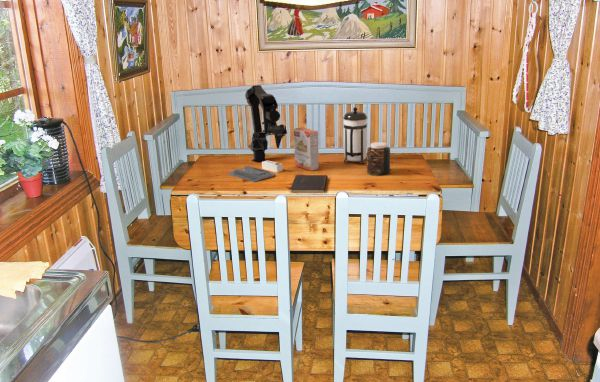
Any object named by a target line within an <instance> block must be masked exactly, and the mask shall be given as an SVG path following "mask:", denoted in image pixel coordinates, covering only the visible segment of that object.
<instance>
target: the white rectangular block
mask: <svg viewBox="0 0 600 382" xmlns="http://www.w3.org/2000/svg"><path fill="white" fill-rule="evenodd" d="M261 170H265V171H269V172H272V173H273V172H274V173H281V172H283V171H284V166H283V163H280V162H277V161H276V162H275V161H271V160H268V159H267V160H266V161H262V162H261Z"/></svg>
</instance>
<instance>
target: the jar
mask: <svg viewBox="0 0 600 382" xmlns="http://www.w3.org/2000/svg"><path fill="white" fill-rule="evenodd" d="M366 157H367V160H366V173H367V174H368V175H370V176H385V175H389V174H390V173H391V148H390V147H389V146H388V143H387V142H384V141H378V142H377V141H376V142H375V141H374V142H371V143H370V146H369V147H367V148H366Z"/></svg>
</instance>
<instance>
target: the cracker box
mask: <svg viewBox="0 0 600 382" xmlns="http://www.w3.org/2000/svg"><path fill="white" fill-rule="evenodd" d="M293 145H294V165H295V167H297V168H301V169H304V170H306V171H310V172H312V171H316V170H319V169H320V165H319V164H320V161H319V160H320V159H319V158H320V157H319V131H318V130H314V129H310V128H307V127H302V126H301V127H296V128H295V127H294V128H293Z"/></svg>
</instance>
